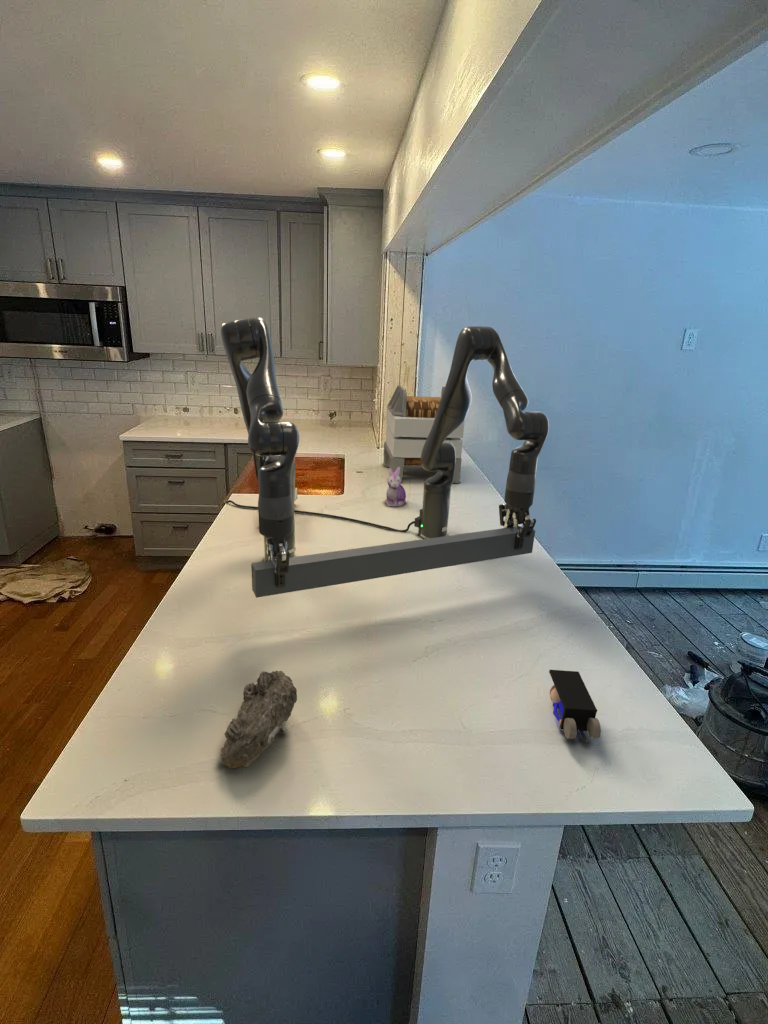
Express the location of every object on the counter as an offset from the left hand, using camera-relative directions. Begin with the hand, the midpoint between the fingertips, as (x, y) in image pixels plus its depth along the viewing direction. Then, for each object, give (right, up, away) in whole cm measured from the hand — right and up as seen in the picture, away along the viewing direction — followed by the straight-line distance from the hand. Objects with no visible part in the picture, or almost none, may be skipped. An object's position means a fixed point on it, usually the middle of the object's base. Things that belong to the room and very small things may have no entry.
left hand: (277, 581), depth 130 cm
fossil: (+2, -25, -25) cm, 35 cm away
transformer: (+42, +35, +145) cm, 154 cm away
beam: (+30, +1, +14) cm, 33 cm away
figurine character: (+61, -25, -20) cm, 69 cm away
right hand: (+60, +7, +27) cm, 66 cm away
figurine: (+29, +19, +100) cm, 106 cm away
